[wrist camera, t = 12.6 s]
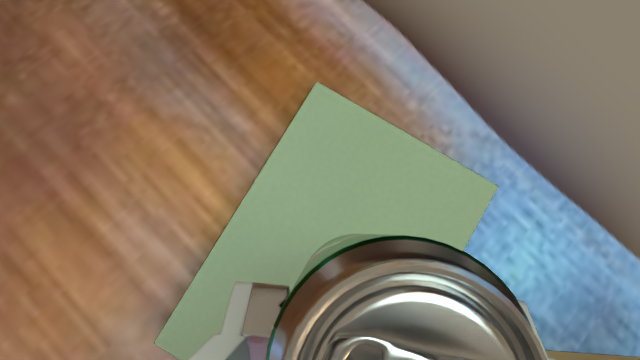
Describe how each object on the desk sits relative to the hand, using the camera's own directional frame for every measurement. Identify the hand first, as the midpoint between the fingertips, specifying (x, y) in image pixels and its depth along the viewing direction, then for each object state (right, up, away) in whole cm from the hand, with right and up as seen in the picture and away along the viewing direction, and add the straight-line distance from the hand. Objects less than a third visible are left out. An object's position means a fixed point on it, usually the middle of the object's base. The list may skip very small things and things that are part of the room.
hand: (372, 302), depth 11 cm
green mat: (-1, -2, +15) cm, 16 cm away
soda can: (0, -2, +7) cm, 7 cm away
